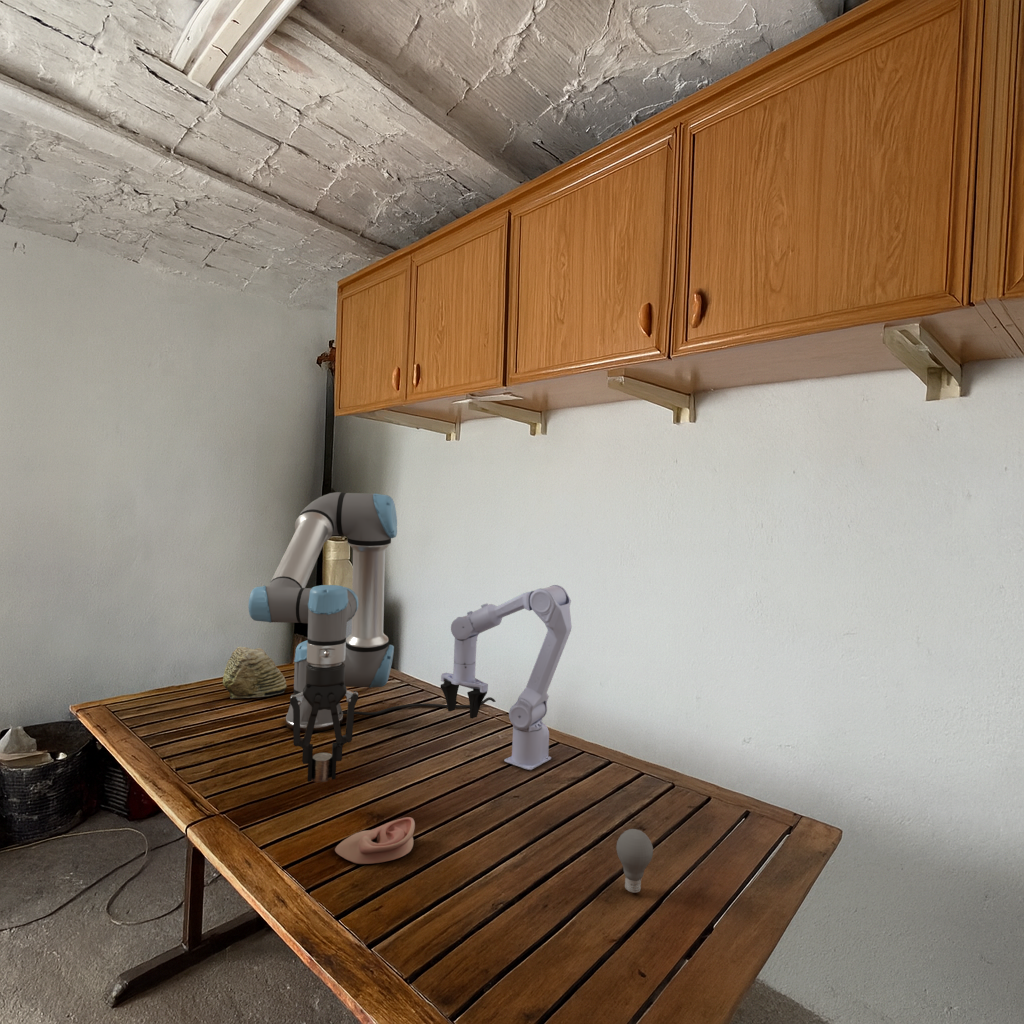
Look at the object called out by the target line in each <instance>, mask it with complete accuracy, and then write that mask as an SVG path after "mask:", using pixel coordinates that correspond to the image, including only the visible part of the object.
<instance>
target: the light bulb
mask: <svg viewBox="0 0 1024 1024" xmlns="http://www.w3.org/2000/svg"><path fill="white" fill-rule="evenodd" d="M615 849H616V854H617V857H618V859H619V861H620V863H621V865H622V867H623V873H624V874H623V875H624V876H625V878H624V888H625V890H627V891H628V892H630V893H634V894H635V893H639V892H640V891H641V889H642V887H641V886H642V879H643V877H644V875H645V871H646V868H647V867H648V866H649V864H650V863H651V861H652V859H653V855H654V847H653V843H652V841H651V838H649V836H648V835H647V834H646V833H645V832H643V831H642V830H641V829H636V828H629V829H627V830H625V831H623V832H622V833H621V834H620V835H619V837H618V839H617V841H616V847H615Z"/></svg>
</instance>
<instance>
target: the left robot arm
mask: <svg viewBox="0 0 1024 1024" xmlns="http://www.w3.org/2000/svg"><path fill="white" fill-rule="evenodd" d="M397 534H398V516H397V509H396V504H395V501H394V499H393V497H391V496H390V495H388V494H380V493H371V492H370V493H367V492H366V493H365V492H364V493H362V492H341V491H339V492H338V491H337V492H335V491H334V492H329V493H327V494H323V495H322V496H319V497H317V498H316V499H314V500H313V501H311V502H309V504H307V506H305V507H304V508H303V509H302V510H301V512H300V513H299V514H298V516H297V518H296V520H295V522H294V533H293V536H292V538H291V540H290V541H289V543H288V546H287V548H286V550H285V552H284V553H283V556H282V558H281V559H280V562H279V563H278V566H277V568H276V570H275V572H274V574H273V576H272V578H271V580H270V582H269V584H268V586H266V585H262V586H255V587H254V588H252V590H251V592H250V594H249V597H248V613H249V616H250V618H251V620H253V621H256V622H263V623H269V624H270V623H283V624H284V623H287V624H288V623H289V624H290V623H291V624H292V623H293V624H294V623H296V624H300V623H301V624H307V640H304V641H302V642H300V643H298V644H297V645H296V648H295V655H294V660H293V662H294V672H293V693H292V694H291V695H290V696H289V705H288V706H289V707H288V711H287V713H286V715H285V726H286V728H287V729H289V730H291V731H293V736H292V737H293V738H292V739H293V746H294V747H300V748H301V749H302V764H303V765H307V782H308V783H309V782H313V781H312V758H313V756H314V744H313V743H311V741H312V736H313V733H316V732H325V731H329V730H332V729H333V732H334V738H335V742H332V745H331V750H332V751H331V754H332V778H331V780H336V778H337V762H341V761H342V760H343V746H344V745H345V744H347V743H351V742H352V741H353V733H354V721H355V720H354V719H355V715H358V716H377V715H381V714H384V713H387V712H390V711H394V710H398V709H399V710H400V709H406V708H417V707H431V708H447V709H448V707H447V704H441V703H409V704H402V705H393V706H389V707H387V708H385V709H381V710H378V711H371V712H370V711H369V712H368V711H355V710H356V709H355V707H356V704H357V702H358V700H359V692H358V691H357V690H349V689H347V687H348V688H368V689H372V688H383V687H385V686H386V685H387V684H388V681H389V678H390V674H391V669H392V665H393V659H394V653H395V652H394V651H395V645H393V644H389V637H388V635H386V634H385V633H384V616H385V615H384V613H385V577H386V576H385V574H386V573H385V572H386V571H385V570H386V549H387V548H388V547H389V546H390V545H392V539H395V538H396V537H397ZM332 536H343V537H344V536H345V537H347V542H346V543H347V545H348V546H349V547H350V548H351V549H352V584H351V585H352V587H351V588H352V589H351V588H349V587H346V586H343V585H338V584H321V585H316V586H313V587H308V588H307V584H308V583H309V580H310V577H311V575H312V573H313V571H314V568H315V566H316V563H317V561H318V558H319V556H320V554H321V551H322V550H323V546H324V544H325V543H326V542H328V541H329V540H330V538H331V537H332ZM350 620H351V633H350V634H349V635H348V636H347V625H348V622H350ZM344 697H345V700H346V702H347V710H343V709H342V706H341V701H342V700H343V699H344ZM488 701H491V702H492V703H496V700H495V699H494V698H493V697H490V696H489V697H486V698H484V699H483V701H482V703H481V705H480V707H481V706H482V705H484V704H486V703H487V702H488ZM455 709H470V704H456V708H455ZM344 715H346V724H345V733H344V735H343V734H342V729H341V725H342V723H343V722H344ZM301 733H304V736H303V737H301Z"/></svg>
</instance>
